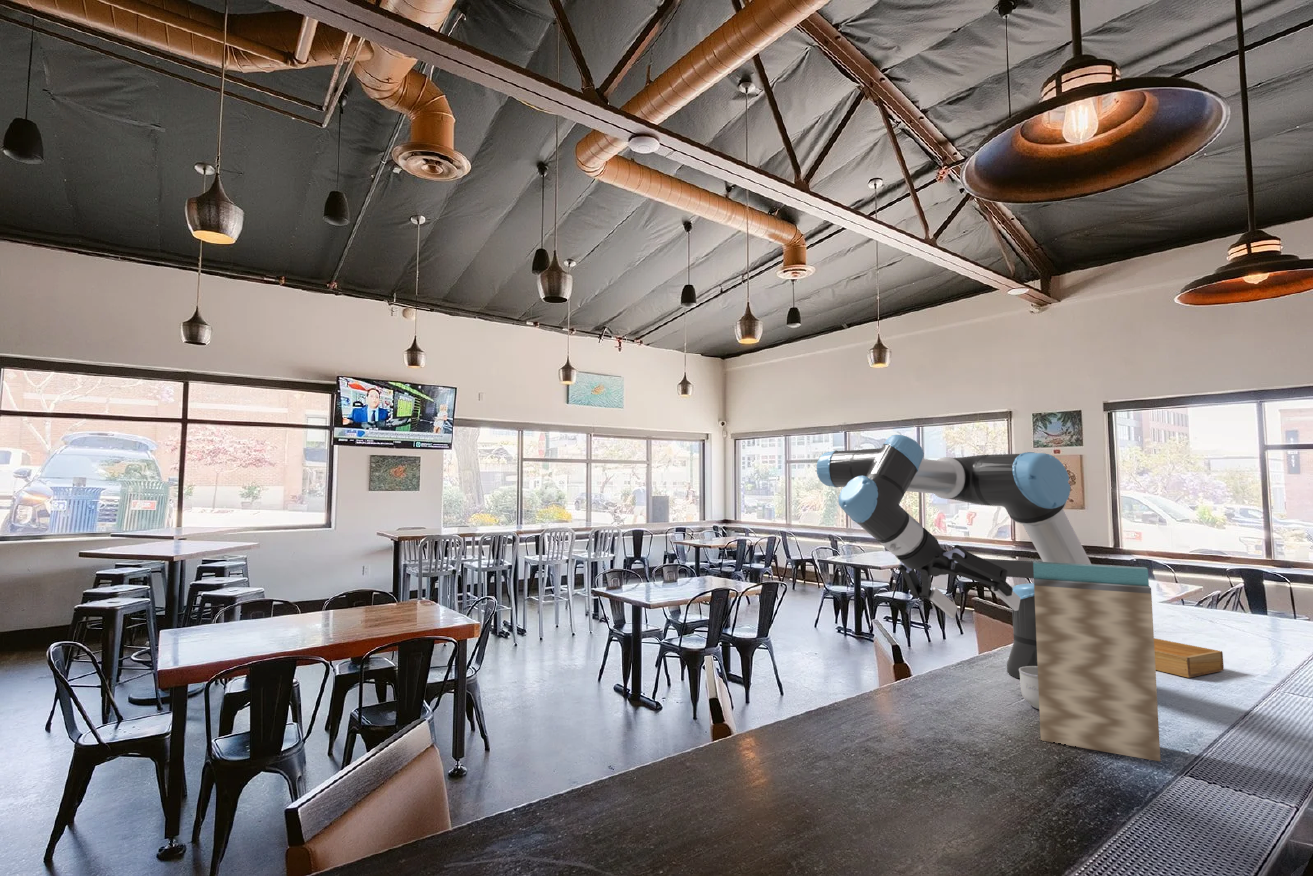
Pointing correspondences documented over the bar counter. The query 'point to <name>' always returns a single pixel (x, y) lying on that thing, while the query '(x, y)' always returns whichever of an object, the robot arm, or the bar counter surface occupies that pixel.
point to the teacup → (1030, 685)
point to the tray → (1186, 659)
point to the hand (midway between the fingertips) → (984, 608)
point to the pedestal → (1097, 666)
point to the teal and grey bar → (1075, 572)
